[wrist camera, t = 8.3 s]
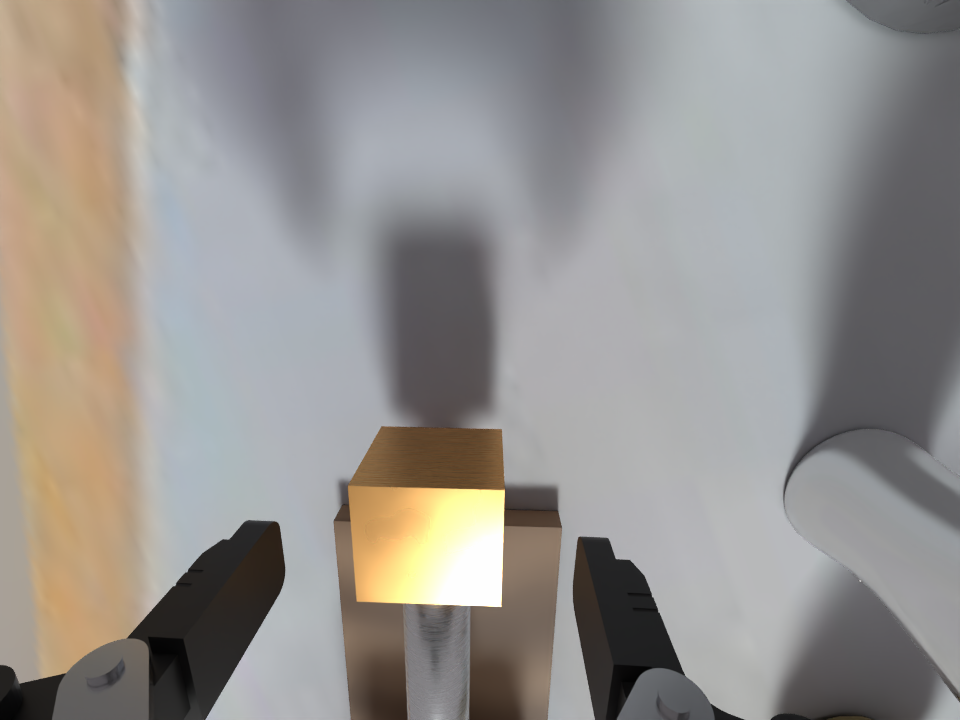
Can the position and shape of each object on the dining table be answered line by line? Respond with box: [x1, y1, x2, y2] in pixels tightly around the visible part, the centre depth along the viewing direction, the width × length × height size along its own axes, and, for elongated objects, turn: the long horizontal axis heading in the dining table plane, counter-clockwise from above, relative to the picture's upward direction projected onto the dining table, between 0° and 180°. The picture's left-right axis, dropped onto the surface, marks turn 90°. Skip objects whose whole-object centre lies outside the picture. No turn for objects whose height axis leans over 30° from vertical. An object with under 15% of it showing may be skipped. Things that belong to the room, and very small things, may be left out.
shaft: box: [348, 426, 505, 720], centre depth 18 cm, size 22×4×4 cm, turn 179°
